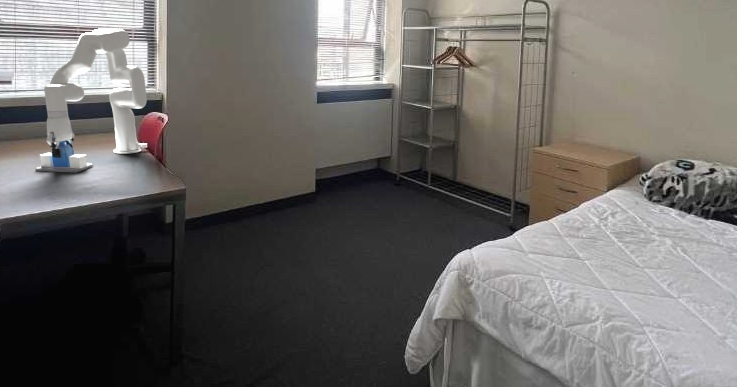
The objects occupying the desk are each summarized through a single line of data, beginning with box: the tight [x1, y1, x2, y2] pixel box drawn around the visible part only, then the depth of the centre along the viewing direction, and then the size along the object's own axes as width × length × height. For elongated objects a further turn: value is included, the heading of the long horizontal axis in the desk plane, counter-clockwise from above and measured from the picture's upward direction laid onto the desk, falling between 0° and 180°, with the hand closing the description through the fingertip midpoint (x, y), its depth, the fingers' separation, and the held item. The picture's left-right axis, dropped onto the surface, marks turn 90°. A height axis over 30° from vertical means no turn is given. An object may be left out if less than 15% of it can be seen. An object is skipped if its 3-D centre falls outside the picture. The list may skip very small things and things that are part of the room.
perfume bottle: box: [50, 141, 75, 167], centre depth 230 cm, size 6×6×12 cm
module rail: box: [34, 152, 94, 174], centre depth 231 cm, size 18×12×6 cm, turn 83°
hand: (63, 155), depth 230 cm, fingers open, 7 cm apart
